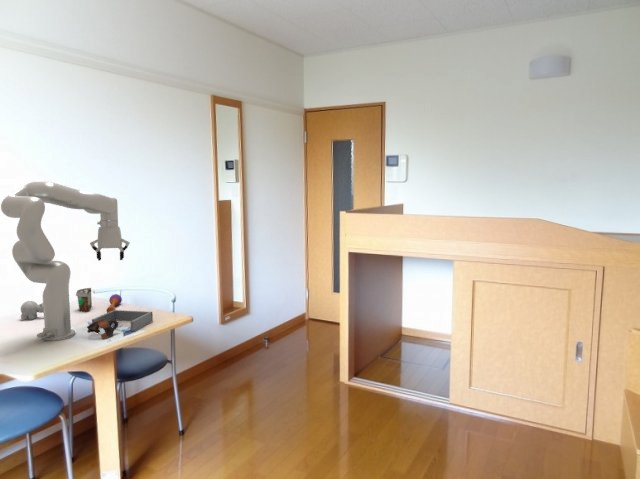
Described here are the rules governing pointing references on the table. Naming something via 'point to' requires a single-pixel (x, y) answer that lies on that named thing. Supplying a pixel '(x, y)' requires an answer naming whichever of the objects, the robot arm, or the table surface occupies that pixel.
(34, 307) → the chubby cartoon animal
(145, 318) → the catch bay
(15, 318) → the table surface
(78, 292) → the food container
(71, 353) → the table surface
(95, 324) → the pottery mug
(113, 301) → the kendama
